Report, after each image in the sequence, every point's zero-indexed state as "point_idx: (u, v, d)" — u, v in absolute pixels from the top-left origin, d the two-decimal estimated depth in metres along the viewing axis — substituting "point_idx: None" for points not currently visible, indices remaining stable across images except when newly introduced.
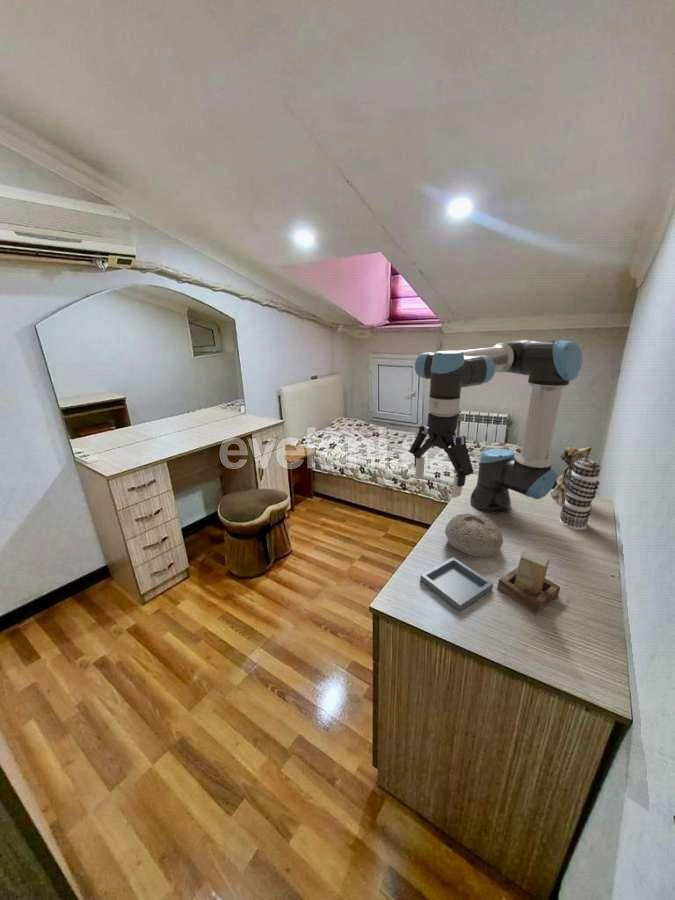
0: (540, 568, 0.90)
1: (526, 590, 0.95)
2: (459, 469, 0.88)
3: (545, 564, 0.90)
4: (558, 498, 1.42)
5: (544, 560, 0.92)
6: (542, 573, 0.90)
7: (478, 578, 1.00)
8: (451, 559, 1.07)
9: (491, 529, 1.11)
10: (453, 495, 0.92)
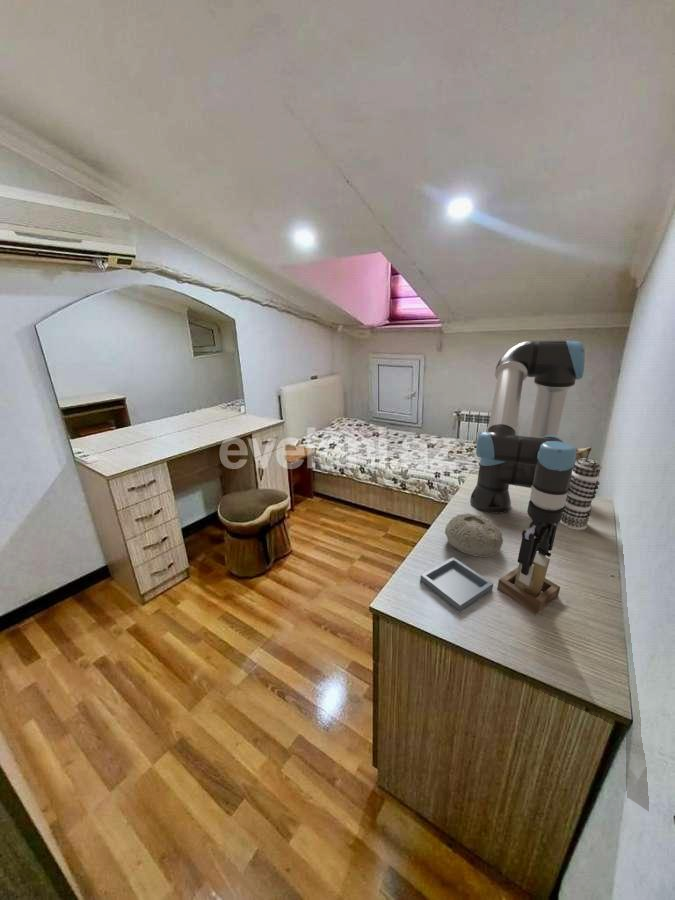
0: (540, 568, 0.90)
1: (526, 590, 0.95)
2: None
3: (545, 564, 0.90)
4: None
5: (544, 560, 0.92)
6: (542, 573, 0.90)
7: (478, 578, 1.00)
8: (451, 559, 1.07)
9: (491, 529, 1.11)
10: None
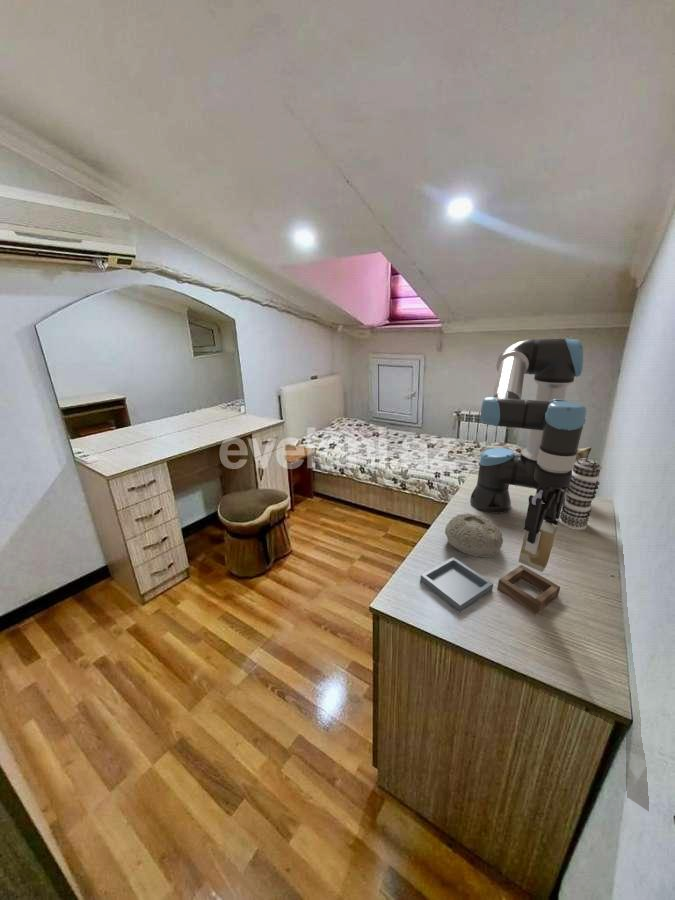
0: (547, 535, 0.87)
1: (532, 560, 0.91)
2: None
3: (552, 531, 0.87)
4: None
5: (551, 528, 0.88)
6: (549, 541, 0.87)
7: (478, 578, 1.00)
8: (451, 559, 1.07)
9: (491, 529, 1.11)
10: None
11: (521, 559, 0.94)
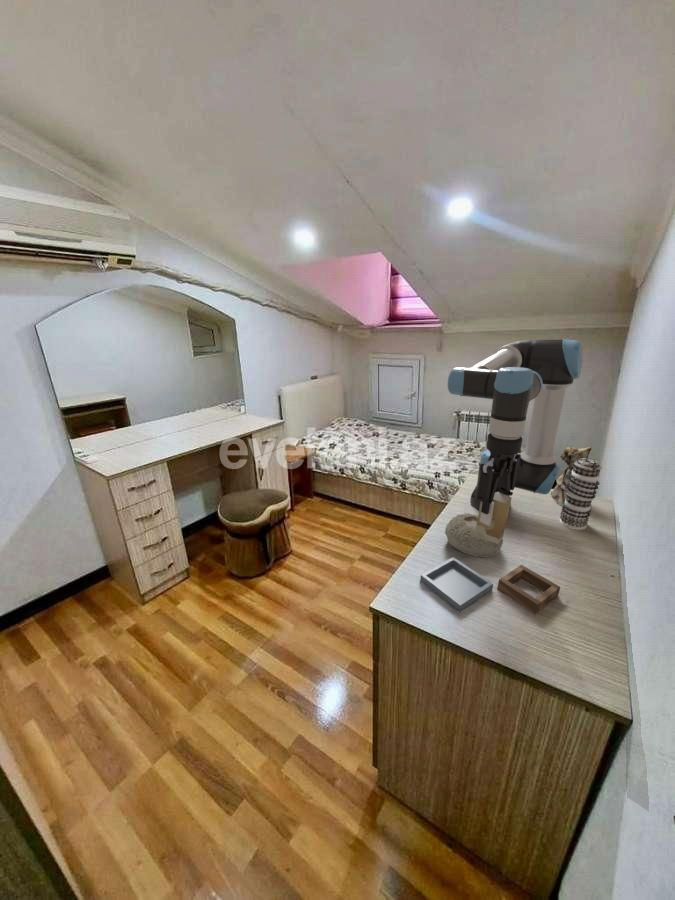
0: (501, 505, 0.86)
1: (488, 532, 0.90)
2: None
3: (506, 501, 0.86)
4: (558, 498, 1.42)
5: (505, 498, 0.87)
6: (503, 511, 0.86)
7: (478, 578, 1.00)
8: (451, 559, 1.07)
9: None
10: None
11: (477, 532, 0.92)
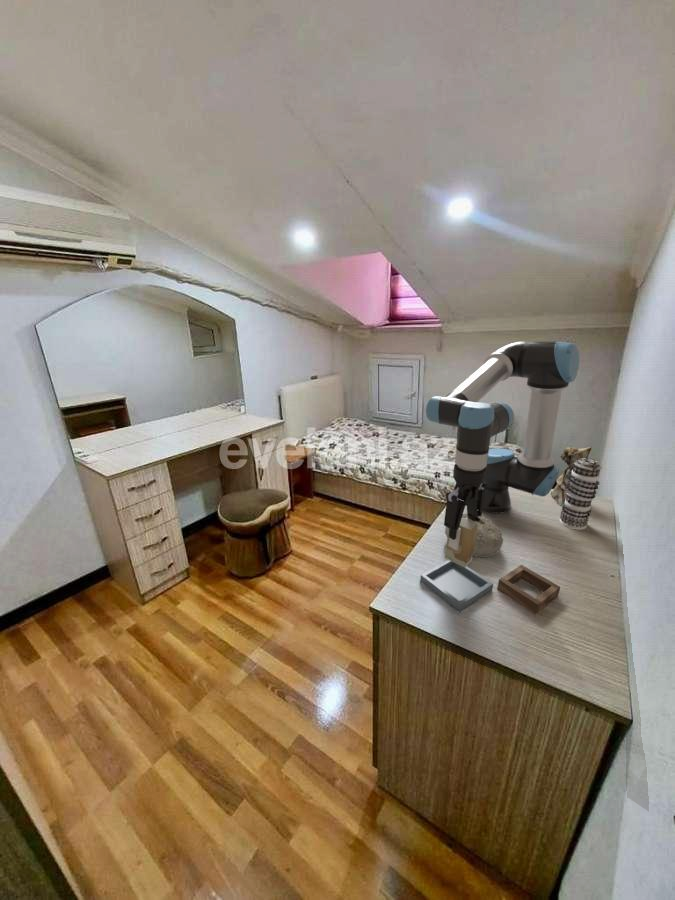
0: (467, 531, 0.90)
1: (456, 556, 0.94)
2: None
3: (471, 528, 0.90)
4: (558, 498, 1.42)
5: (472, 524, 0.91)
6: (469, 537, 0.90)
7: (478, 578, 1.00)
8: None
9: (491, 529, 1.11)
10: None
11: (447, 555, 0.97)
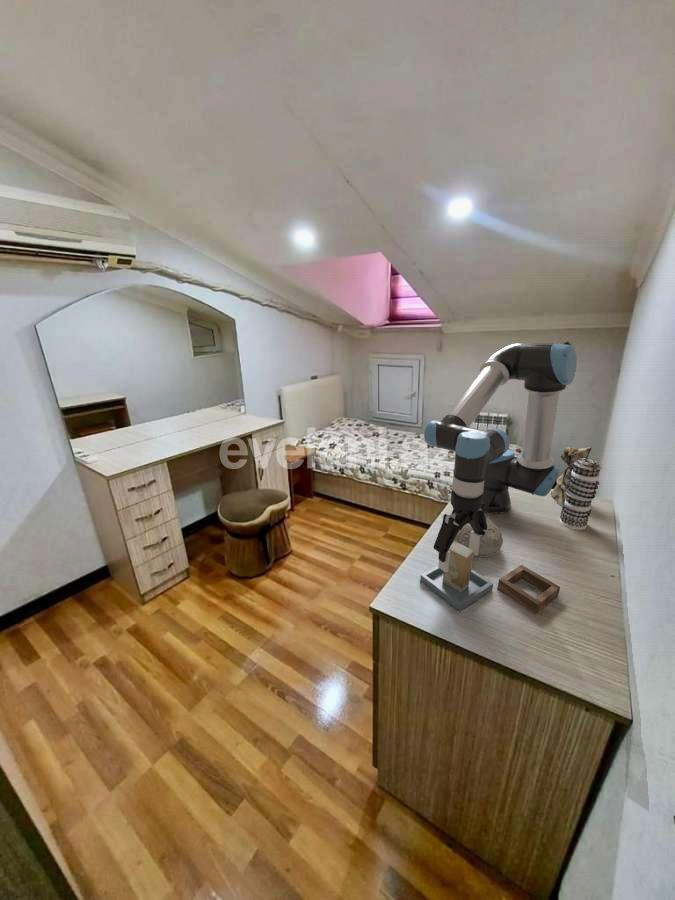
0: (463, 559, 0.93)
1: (453, 581, 0.98)
2: None
3: (467, 555, 0.93)
4: (558, 498, 1.42)
5: (468, 552, 0.94)
6: (465, 564, 0.93)
7: (478, 578, 1.00)
8: None
9: (491, 529, 1.11)
10: None
11: (444, 579, 1.00)
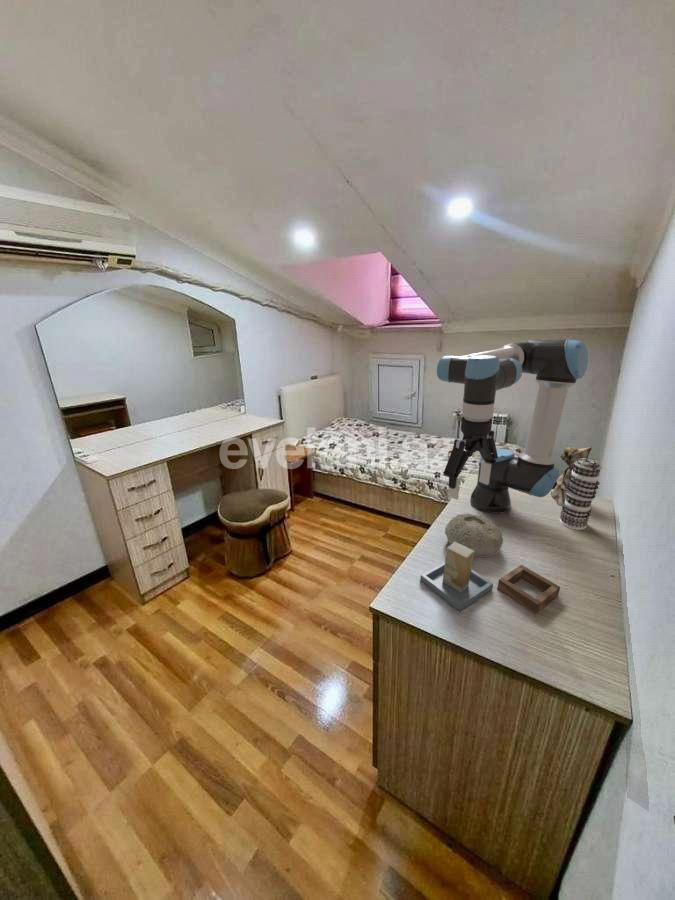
0: (463, 559, 0.93)
1: (453, 581, 0.98)
2: None
3: (467, 555, 0.93)
4: (558, 498, 1.42)
5: (468, 552, 0.94)
6: (465, 564, 0.93)
7: (478, 578, 1.00)
8: None
9: (491, 529, 1.11)
10: None
11: (444, 579, 1.00)
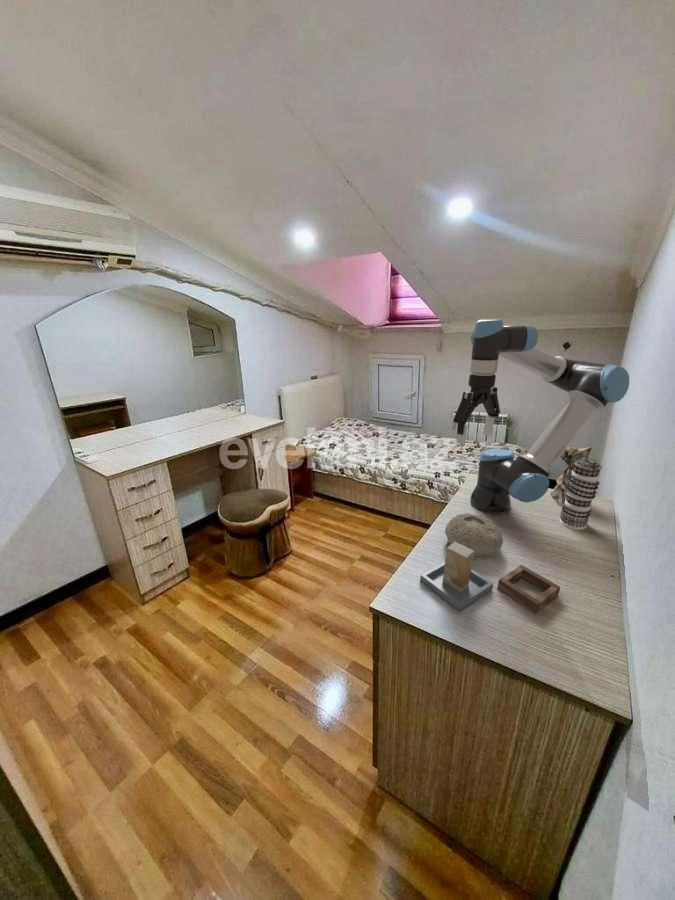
0: (463, 559, 0.93)
1: (453, 581, 0.98)
2: None
3: (467, 555, 0.93)
4: (558, 498, 1.42)
5: (468, 552, 0.94)
6: (465, 564, 0.93)
7: (478, 578, 1.00)
8: None
9: (491, 529, 1.11)
10: None
11: (444, 579, 1.00)
